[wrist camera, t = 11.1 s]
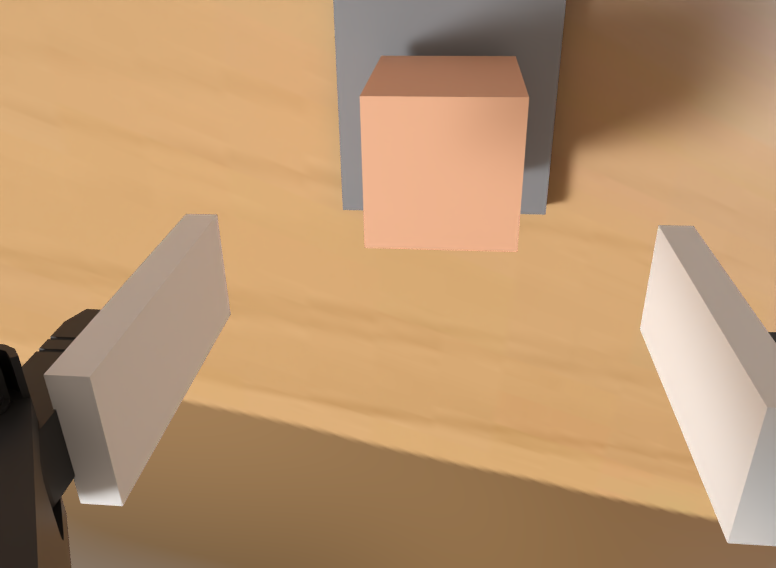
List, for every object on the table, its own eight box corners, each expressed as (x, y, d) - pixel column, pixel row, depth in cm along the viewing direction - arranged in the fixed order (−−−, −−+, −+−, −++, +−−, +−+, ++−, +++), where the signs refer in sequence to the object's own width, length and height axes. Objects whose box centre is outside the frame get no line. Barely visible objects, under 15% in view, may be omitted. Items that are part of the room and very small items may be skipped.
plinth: (346, 201, 33) (343, 209, 32) (334, -62, 28) (330, -61, 27) (543, 205, 33) (545, 214, 32) (568, -65, 27) (572, -63, 26)
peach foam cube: (381, 55, 28) (359, 96, 22) (515, 56, 28) (529, 97, 22) (383, 181, 31) (364, 248, 25) (507, 184, 30) (517, 251, 24)
